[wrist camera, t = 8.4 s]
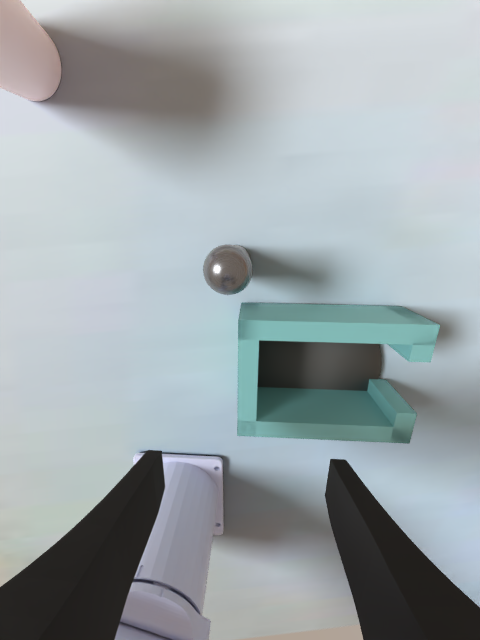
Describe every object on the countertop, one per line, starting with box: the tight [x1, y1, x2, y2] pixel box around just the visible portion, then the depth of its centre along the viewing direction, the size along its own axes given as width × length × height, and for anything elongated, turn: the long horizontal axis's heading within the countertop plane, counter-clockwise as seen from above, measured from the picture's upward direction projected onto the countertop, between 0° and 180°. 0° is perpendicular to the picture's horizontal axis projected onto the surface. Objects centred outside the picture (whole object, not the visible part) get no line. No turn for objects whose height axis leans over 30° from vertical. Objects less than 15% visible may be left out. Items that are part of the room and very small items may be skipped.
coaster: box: [257, 340, 382, 391], centre depth 20 cm, size 10×10×1 cm
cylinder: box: [203, 245, 253, 295], centre depth 15 cm, size 2×2×7 cm
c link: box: [237, 303, 440, 443], centre depth 18 cm, size 8×11×4 cm
